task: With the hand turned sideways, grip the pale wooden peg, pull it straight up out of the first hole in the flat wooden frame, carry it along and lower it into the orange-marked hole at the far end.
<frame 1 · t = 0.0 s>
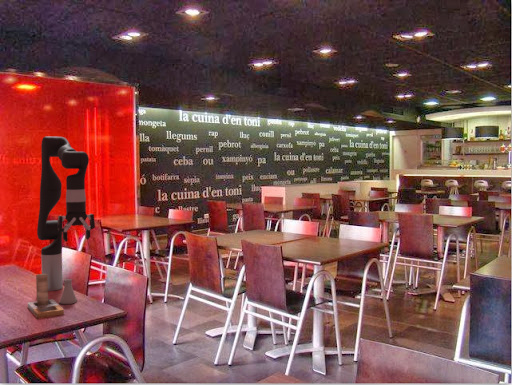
hand: (76, 240, 204), 29 cm above the table, tool pointing down, fingers open, 8 cm apart
wooden peg: (42, 307, 210), resting in flat wooden frame
flat wooden frame: (45, 310, 206), on the table
flask: (68, 302, 219), on the table
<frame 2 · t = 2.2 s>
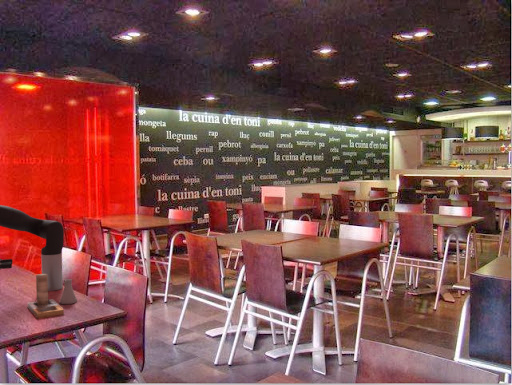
hand: (12, 263, 205), 20 cm above the table, tool horizontal, fingers open, 8 cm apart
nothing on the table moved.
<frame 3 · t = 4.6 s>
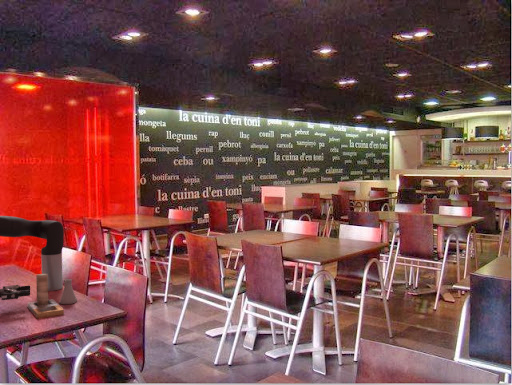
hand: (30, 290, 208), 8 cm above the table, tool horizontal, fingers open, 8 cm apart
nothing on the table moved.
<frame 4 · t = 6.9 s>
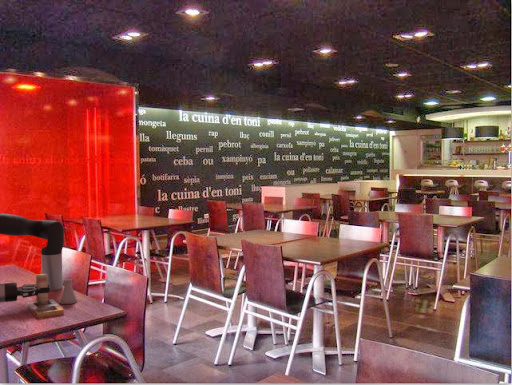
hand: (49, 288, 211), 8 cm above the table, tool horizontal, fingers closed on wooden peg, 4 cm apart
wooden peg: (42, 307, 210), resting in flat wooden frame, touching gripper
everything else where it was.
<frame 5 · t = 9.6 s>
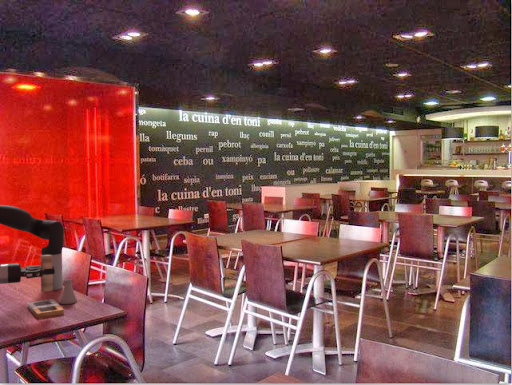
hand: (54, 269, 202), 18 cm above the table, tool horizontal, fingers closed on wooden peg, 4 cm apart
wooden peg: (47, 290, 202), point 10 cm above the table, touching gripper
everything else where it was.
when the fingers open (9 cm above the table, at t = 12.2 s): wooden peg drops 1 cm, resting in flat wooden frame.
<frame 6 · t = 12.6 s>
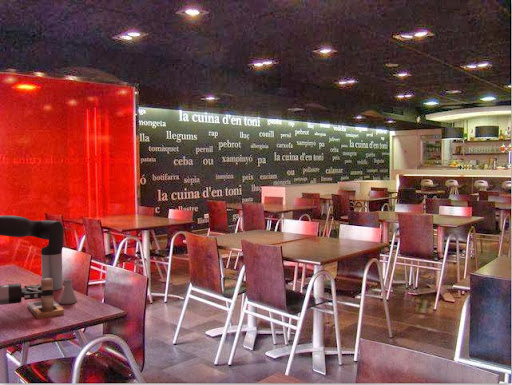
hand: (52, 289, 203), 10 cm above the table, tool horizontal, fingers open, 8 cm apart
wooden peg: (47, 313, 202), resting in flat wooden frame
everything else where it was.
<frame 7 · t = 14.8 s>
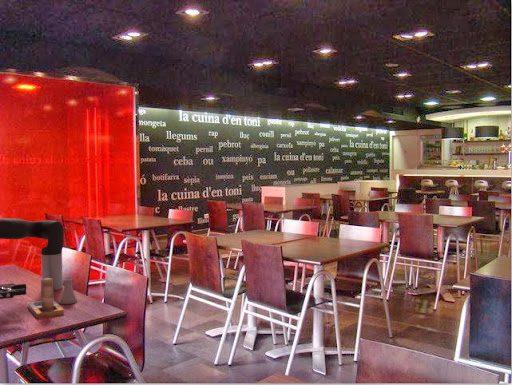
hand: (26, 288, 199), 11 cm above the table, tool horizontal, fingers open, 8 cm apart
nothing on the table moved.
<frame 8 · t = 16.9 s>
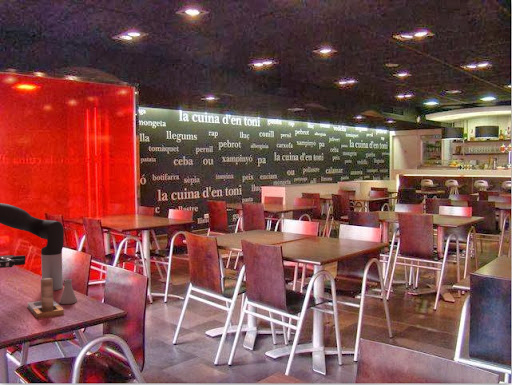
hand: (25, 259, 201), 22 cm above the table, tool horizontal, fingers open, 8 cm apart
nothing on the table moved.
at the end: wooden peg 0.1 cm from the target spot on the flat wooden frame, point 0.0 cm above the flat wooden frame's base; wooden peg tilted 1°; the gripper is holding nothing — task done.
